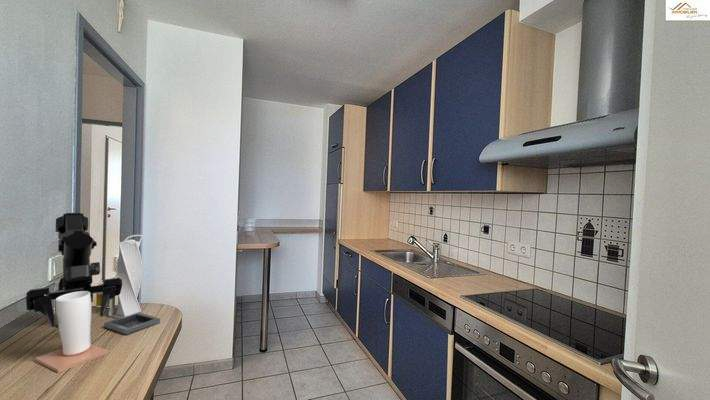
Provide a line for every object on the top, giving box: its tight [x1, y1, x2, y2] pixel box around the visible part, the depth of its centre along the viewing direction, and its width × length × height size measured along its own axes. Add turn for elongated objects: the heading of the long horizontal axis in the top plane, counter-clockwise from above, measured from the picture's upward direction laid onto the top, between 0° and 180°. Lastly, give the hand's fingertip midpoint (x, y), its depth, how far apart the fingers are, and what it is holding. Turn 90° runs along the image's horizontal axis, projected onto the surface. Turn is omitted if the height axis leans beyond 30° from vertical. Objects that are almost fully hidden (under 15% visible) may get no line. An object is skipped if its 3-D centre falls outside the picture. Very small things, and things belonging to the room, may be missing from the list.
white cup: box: [54, 291, 92, 356], centre depth 77 cm, size 7×7×15 cm
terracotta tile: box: [34, 343, 109, 374], centre depth 77 cm, size 12×10×1 cm
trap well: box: [103, 312, 161, 336], centre depth 96 cm, size 12×10×2 cm
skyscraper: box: [106, 234, 144, 319], centre depth 105 cm, size 8×8×28 cm
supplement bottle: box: [95, 282, 110, 313], centre depth 109 cm, size 5×5×10 cm
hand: (78, 320), depth 76 cm, fingers open, 9 cm apart
